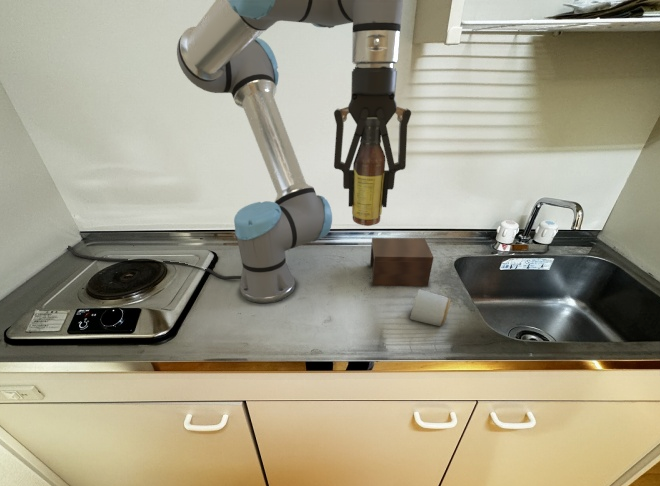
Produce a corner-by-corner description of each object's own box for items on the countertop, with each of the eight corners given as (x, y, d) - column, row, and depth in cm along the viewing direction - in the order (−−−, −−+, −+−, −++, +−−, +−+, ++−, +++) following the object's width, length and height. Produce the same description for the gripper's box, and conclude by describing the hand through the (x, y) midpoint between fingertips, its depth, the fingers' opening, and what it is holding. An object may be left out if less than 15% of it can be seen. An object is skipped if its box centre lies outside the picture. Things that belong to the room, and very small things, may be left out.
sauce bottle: (363, 213, 72) (370, 113, 60) (386, 221, 68) (398, 115, 57) (344, 222, 68) (348, 115, 56) (368, 230, 64) (377, 118, 53)
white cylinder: (442, 333, 75) (449, 307, 70) (408, 325, 77) (413, 299, 73) (447, 308, 83) (454, 283, 78) (416, 301, 85) (420, 277, 81)
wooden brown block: (372, 285, 92) (374, 256, 86) (370, 265, 101) (371, 237, 96) (427, 286, 91) (433, 257, 86) (420, 265, 101) (424, 238, 95)
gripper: (313, 66, 50) (319, 210, 63) (438, 65, 48) (416, 212, 62) (319, 67, 56) (323, 198, 69) (429, 66, 55) (411, 199, 68)
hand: (367, 204), depth 66 cm, fingers closed on sauce bottle, 6 cm apart
